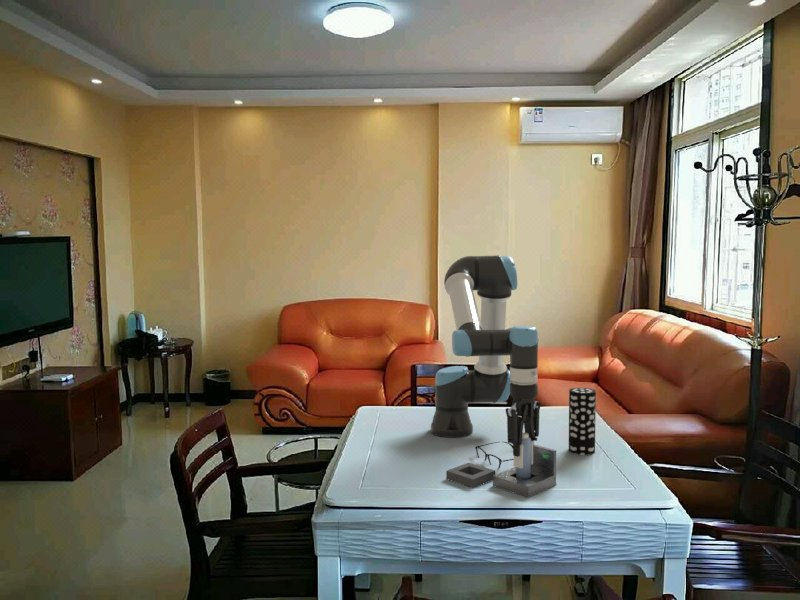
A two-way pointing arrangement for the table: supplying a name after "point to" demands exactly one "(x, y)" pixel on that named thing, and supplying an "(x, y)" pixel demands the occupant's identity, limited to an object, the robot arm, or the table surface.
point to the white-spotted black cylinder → (582, 421)
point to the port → (540, 474)
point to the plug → (525, 459)
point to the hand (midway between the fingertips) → (523, 464)
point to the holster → (476, 474)
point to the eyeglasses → (492, 455)
